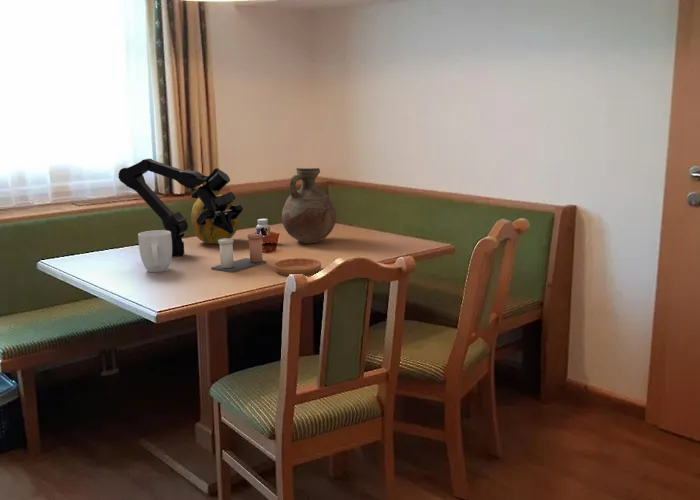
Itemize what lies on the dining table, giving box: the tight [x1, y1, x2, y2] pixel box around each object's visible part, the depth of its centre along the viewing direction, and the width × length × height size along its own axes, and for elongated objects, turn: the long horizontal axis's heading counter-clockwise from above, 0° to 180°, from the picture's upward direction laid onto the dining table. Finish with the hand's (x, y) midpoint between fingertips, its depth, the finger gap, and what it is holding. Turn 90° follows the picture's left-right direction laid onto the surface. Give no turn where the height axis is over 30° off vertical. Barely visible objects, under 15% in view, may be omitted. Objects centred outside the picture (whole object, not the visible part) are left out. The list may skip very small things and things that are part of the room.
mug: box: [137, 229, 173, 273], centre depth 251 cm, size 15×11×13 cm
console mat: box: [210, 257, 267, 273], centre depth 258 cm, size 10×17×1 cm, turn 144°
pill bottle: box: [255, 218, 271, 234], centre depth 294 cm, size 5×5×10 cm
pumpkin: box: [191, 183, 240, 245], centre depth 295 cm, size 19×19×25 cm
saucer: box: [273, 257, 322, 276], centre depth 248 cm, size 16×16×3 cm
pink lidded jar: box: [247, 233, 264, 262], centre depth 259 cm, size 5×5×9 cm
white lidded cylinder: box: [218, 237, 235, 268], centre depth 252 cm, size 5×5×9 cm
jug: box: [281, 167, 337, 245], centre depth 292 cm, size 22×22×30 cm
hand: (232, 232), depth 265 cm, fingers closed
